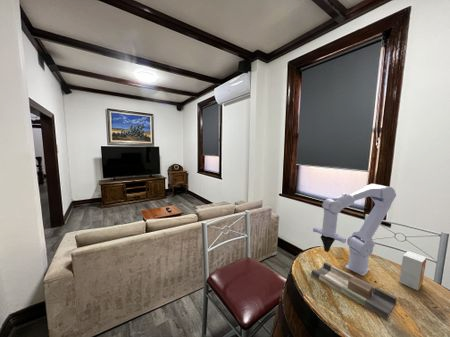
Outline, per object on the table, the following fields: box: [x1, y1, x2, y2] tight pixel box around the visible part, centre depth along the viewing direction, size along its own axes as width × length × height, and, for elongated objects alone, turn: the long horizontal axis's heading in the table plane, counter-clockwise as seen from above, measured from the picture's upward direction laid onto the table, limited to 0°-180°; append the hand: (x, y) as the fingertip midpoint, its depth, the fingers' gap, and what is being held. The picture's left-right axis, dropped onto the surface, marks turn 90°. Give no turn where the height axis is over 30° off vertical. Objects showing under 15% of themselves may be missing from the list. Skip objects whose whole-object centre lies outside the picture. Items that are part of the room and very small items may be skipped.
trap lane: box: [311, 261, 398, 320], centre depth 78 cm, size 13×27×2 cm, turn 36°
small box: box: [398, 250, 427, 291], centre depth 83 cm, size 8×6×13 cm
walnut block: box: [348, 276, 374, 300], centre depth 75 cm, size 5×7×4 cm
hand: (326, 250), depth 90 cm, fingers closed
